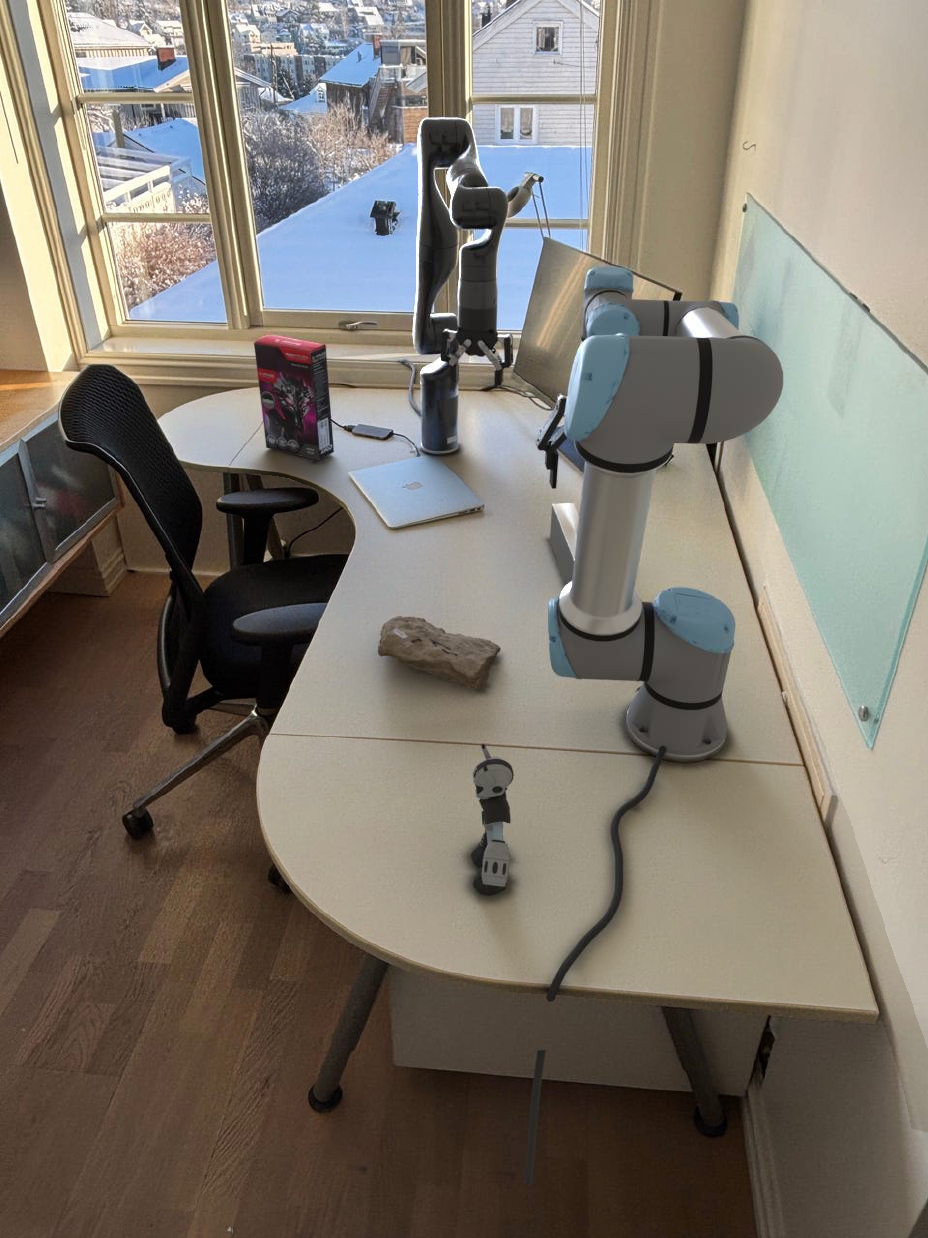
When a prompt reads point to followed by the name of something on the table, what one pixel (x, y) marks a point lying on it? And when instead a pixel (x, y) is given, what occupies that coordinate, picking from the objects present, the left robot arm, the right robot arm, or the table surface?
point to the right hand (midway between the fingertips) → (590, 484)
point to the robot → (492, 823)
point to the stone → (438, 651)
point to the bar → (564, 536)
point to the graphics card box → (294, 396)
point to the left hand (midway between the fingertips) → (476, 384)
